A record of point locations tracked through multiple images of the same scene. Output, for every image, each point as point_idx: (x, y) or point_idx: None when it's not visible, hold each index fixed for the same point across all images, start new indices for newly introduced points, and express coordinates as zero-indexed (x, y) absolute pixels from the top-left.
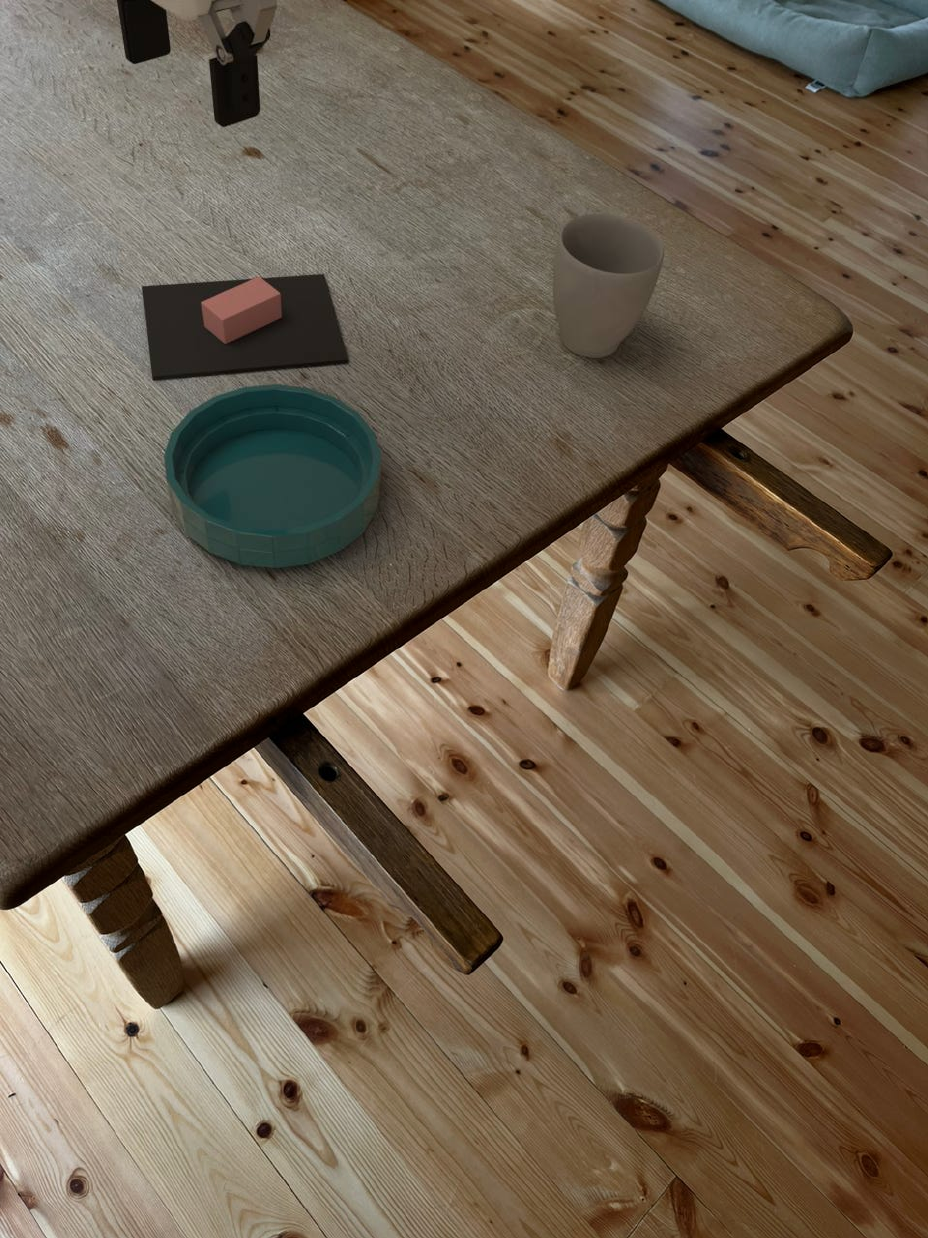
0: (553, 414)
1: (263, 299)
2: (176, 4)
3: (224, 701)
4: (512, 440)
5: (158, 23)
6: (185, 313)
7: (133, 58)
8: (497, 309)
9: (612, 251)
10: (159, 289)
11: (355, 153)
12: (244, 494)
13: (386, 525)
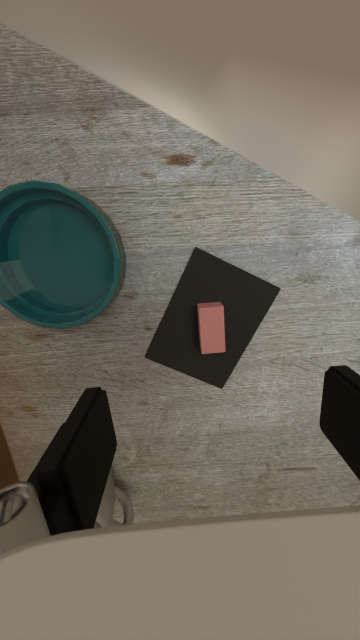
0: (52, 420)
1: (202, 341)
2: (5, 599)
3: None
4: (44, 392)
5: (352, 453)
6: (238, 298)
7: (330, 372)
8: (142, 446)
9: (100, 525)
10: (270, 296)
11: (313, 465)
12: (65, 239)
13: None
